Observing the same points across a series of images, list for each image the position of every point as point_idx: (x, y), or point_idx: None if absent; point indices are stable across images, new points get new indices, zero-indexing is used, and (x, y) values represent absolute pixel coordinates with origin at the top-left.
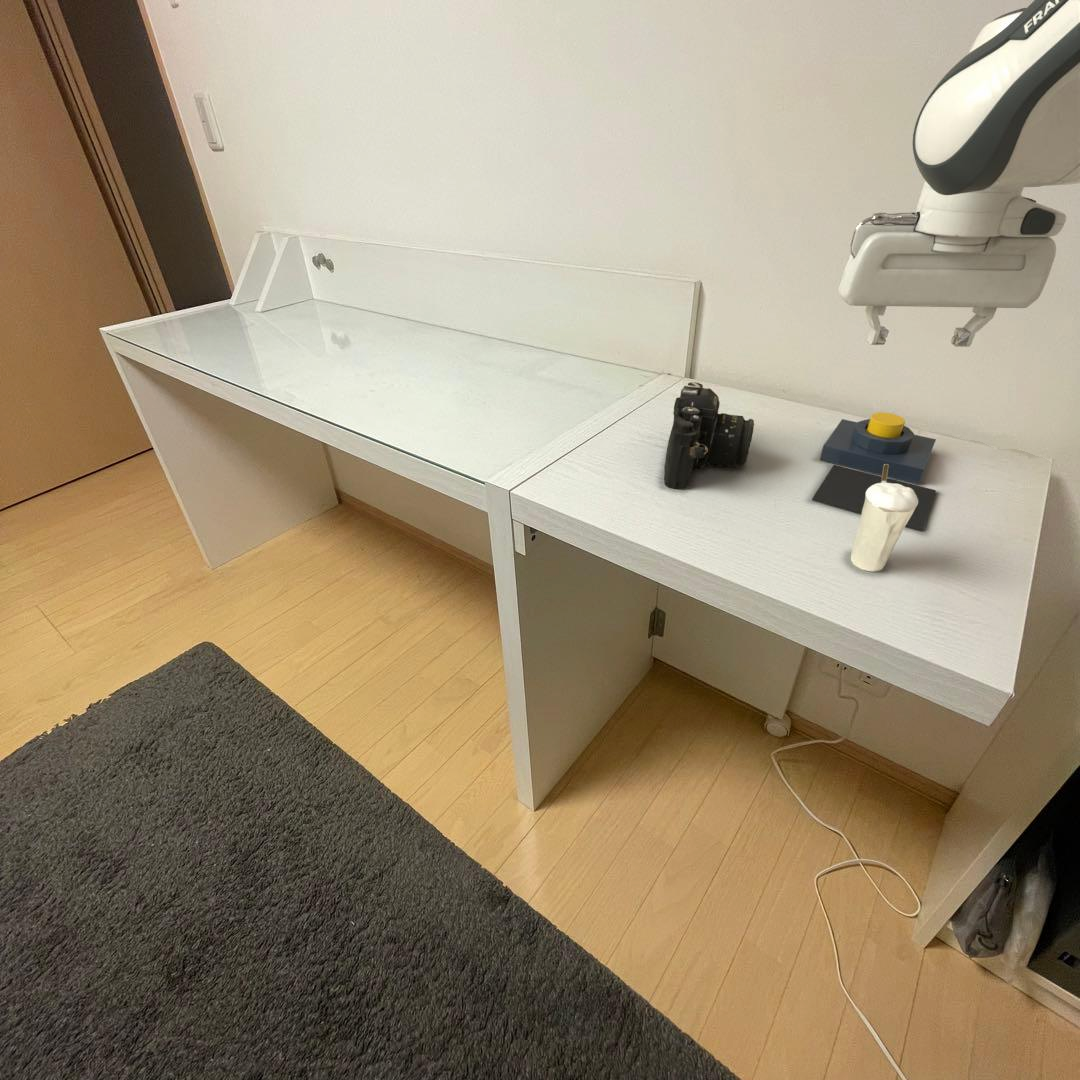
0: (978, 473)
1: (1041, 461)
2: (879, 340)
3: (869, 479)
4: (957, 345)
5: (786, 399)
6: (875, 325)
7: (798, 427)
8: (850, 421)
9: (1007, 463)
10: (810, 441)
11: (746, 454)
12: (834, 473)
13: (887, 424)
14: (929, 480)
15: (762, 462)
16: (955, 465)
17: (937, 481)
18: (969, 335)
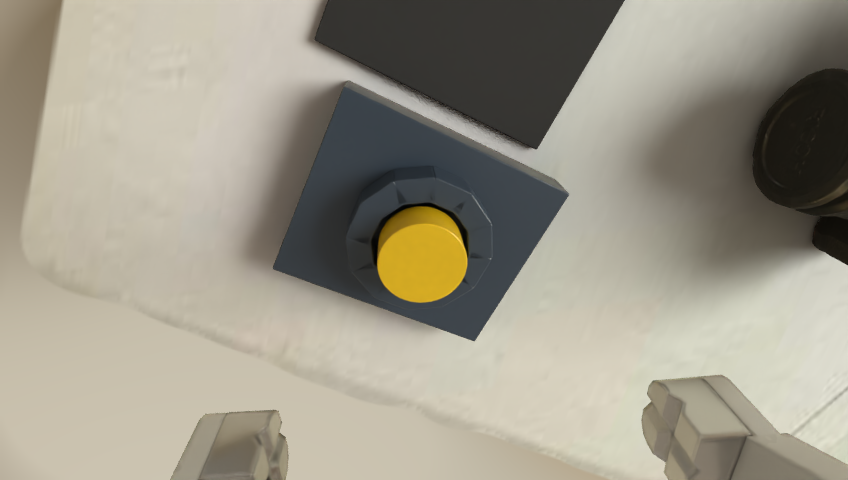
0: (184, 166)
1: (24, 249)
2: (702, 389)
3: (471, 78)
4: (271, 410)
5: (533, 447)
6: (823, 455)
7: (549, 332)
8: (458, 331)
9: (106, 228)
10: (544, 271)
11: (838, 69)
12: (551, 99)
13: (436, 225)
14: (313, 110)
15: (698, 149)
16: (233, 200)
17: (294, 108)
18: (209, 460)
